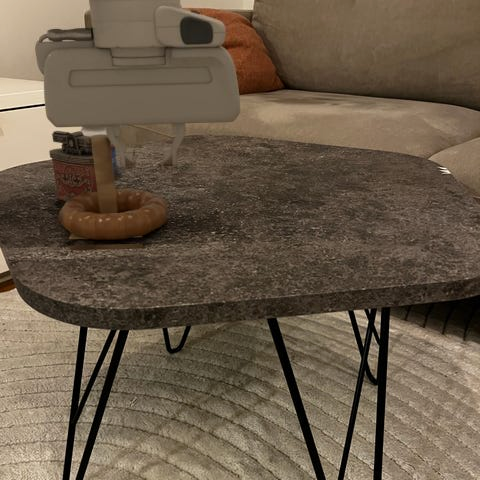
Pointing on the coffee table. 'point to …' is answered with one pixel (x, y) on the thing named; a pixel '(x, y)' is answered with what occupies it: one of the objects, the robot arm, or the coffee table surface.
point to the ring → (114, 215)
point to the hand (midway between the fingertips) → (150, 165)
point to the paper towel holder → (104, 189)
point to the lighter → (73, 165)
